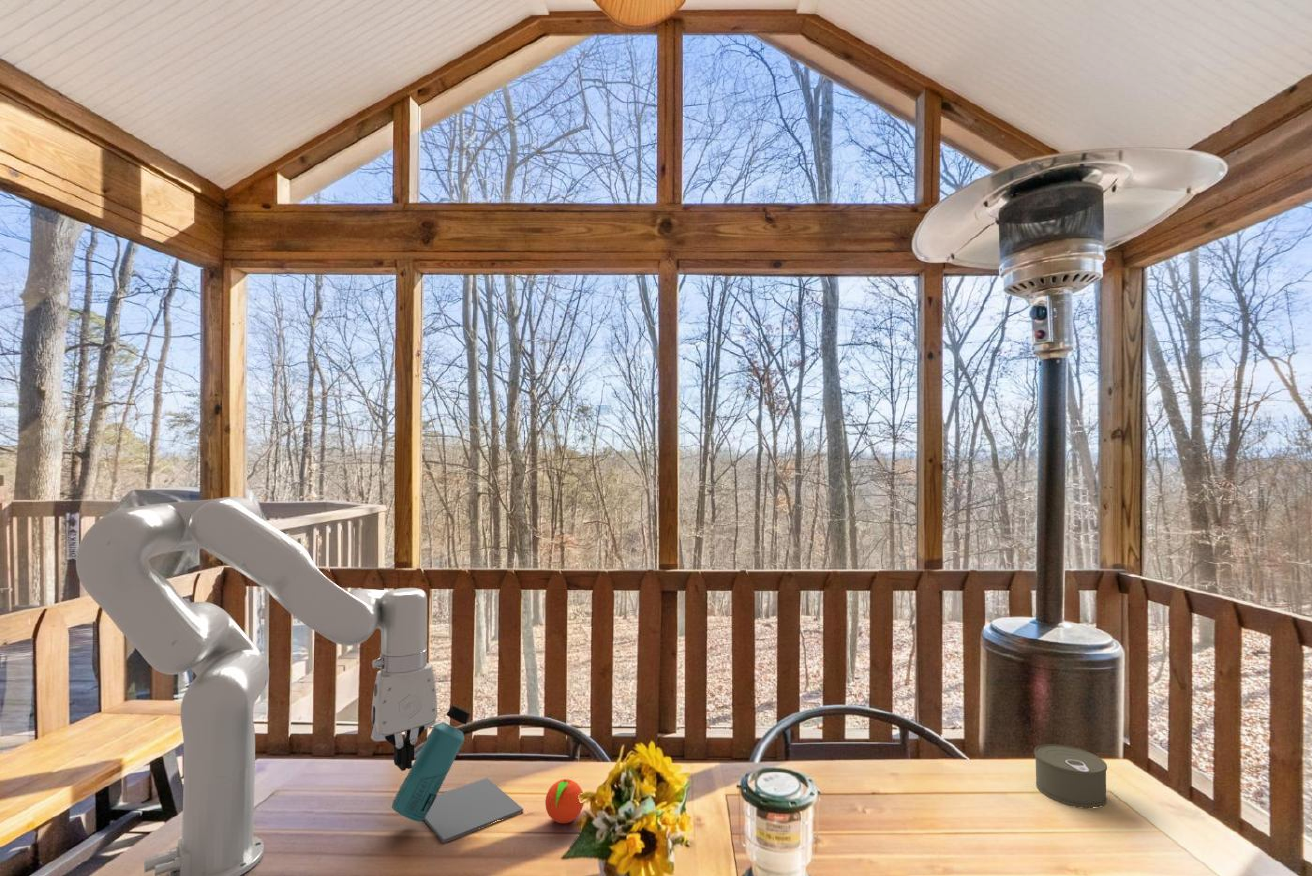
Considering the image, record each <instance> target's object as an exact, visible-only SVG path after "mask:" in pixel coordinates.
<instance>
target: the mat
mask: <svg viewBox="0 0 1312 876" xmlns="http://www.w3.org/2000/svg"><path fill="white" fill-rule="evenodd" d="M437 794H438V795H436V798H435V800H434V803H433V805H432V807H430V808H431V809H429V810H430V811H429V812H427V814H426V816H425V817H426V818H424V819H423V821H424V822H425V823H426V824H427V825H428V826H429V827H430V829H431V831H433V833H434V834H435V835H436V836H437V837H438V838H439V839H440V841H441V842H442V843H443V844H445V843H448V842H451V841H453V840H455V839H459V838H460V837H463V836H467V835H468V834H471V833H474V832H476V831H478V829H479V828H481V829H483V828H482V827H484V828H486V827H485V826H487V825H489V824H491V823H493V822H495V821H497V820H502V819H504V820H506V819H505V818H507V819H509V818H508V817H510V816H512V815H515V816H517V815H519V814H518V813H520V812H522V811H523V812H524V808H523V807H522V806H520V805H519V804H518V803H517V801H515V800H513V798H511V797H510V796H509V795H508V794H506V793H505V792H504V791H503V790H502V789H500V788H499V787H498V786H497V785H496V784H495V783H494V782H492V780H490V779H489V778H488V777H486V778H483V779H479V780H476V781H474V782H471V783H468V784H464V785H462V786H460V787H459V786H458V787H456V788H453V789H450V790H447V791H444V792H442V793H441V792H440V793H437ZM523 812H522V813H523ZM516 814H517V815H516ZM520 814H521V813H520ZM512 817H513V816H512ZM510 818H511V817H510ZM502 821H503V820H502ZM489 826H490V825H489ZM487 827H488V826H487ZM479 830H480V829H479Z"/></svg>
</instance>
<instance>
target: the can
mask: <svg viewBox="0 0 1312 876" xmlns="http://www.w3.org/2000/svg"><path fill="white" fill-rule="evenodd" d="M1034 756H1035V757H1034V758H1035V779H1036V783H1035V786H1036V789H1037V790H1038V791H1039V792H1040V793H1041V794H1042V795H1043V796H1045V797H1046V798H1048V799H1050V800H1052V801H1054V802H1057V803H1059V804H1063V805H1066V806H1069V807H1073V806H1075V807H1074V808H1078V807H1083V808H1082V809H1087V808H1093V807H1100V806H1103V807H1105V805H1106V804H1107V770H1108V765H1107V762H1105V760H1103V759H1102V758H1101V757H1099V756H1098V755H1096V754H1094V753H1092V752H1089V751H1087V750H1084V749H1081V748H1077V747H1074V746H1069V745H1063V744H1055V743H1054V744H1053V743H1051V744H1050V743H1048V744H1041V745H1038V746H1037V747H1035V748H1034ZM1100 808H1101V807H1100Z"/></svg>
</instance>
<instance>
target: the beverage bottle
mask: <svg viewBox="0 0 1312 876" xmlns="http://www.w3.org/2000/svg"><path fill="white" fill-rule="evenodd" d="M445 715H446V716H447V717H448V718H450V719H452V720H454V721H456V722H459V723H461V724H463V725H467V724H468V721H469V718H470V717H471V713H470V712H468V711H467V710H466V709H464V708H462V707H460V706H456V705H451V706H450V708H449V709H448V711H447V712H446V713H445ZM464 742H465V736H464V732H463V731H461V730H460V729H458V728H457V727H454V726H452V725H450V724H448V723H446V722H439V723H437V724H436V723H435V724H434V725H433V727H432V729H431V731H430V733H429V735H428V737H427V739H426V740H425V743H424V744H423V745H422V748H421V750H420V752H419V753H418V755H417V757H416V758H415V759H414V761H413V763H412V768H411V769H409V772H407V775H406V777H405V778H404V779H403V782H402V783H401V785H400V787H399V788H398V791H397V792H396V795H395V797H394V799H392V804H391V809H392V810H394V811H395V812H396V813H397V814H399V815H400V816H402V817H405V818H407V819H409V820H411V821H415V822H418V823H419V822H423V821H424V820H423V819H424V818H426V817H425V816H426V814H427V812H429V811H430V810H429V809H431V808H430V807H432V805H433V803H434V800H435V798H436V795H438V794H439V791H440V790H441V788H442V786H443V784H444V782H445V780H446V777H447V775H448V773H449V771H450V770H451V768H452V766H453V764H454V763H455V759H456V757H457V755H458V753H459V751H460V749H461V747H462V745H463V744H464Z"/></svg>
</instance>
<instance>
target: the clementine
mask: <svg viewBox="0 0 1312 876" xmlns="http://www.w3.org/2000/svg"><path fill="white" fill-rule="evenodd" d="M580 793H583V789H582V787H580V785H579V784H578V783H577V782H576V781H574V780H573V779H568V778H566V779H565V778H563V779H560V780H557V781H556V782H554V783H553V784H552V785H551V786H550V788H549V789H548V791H547V793H546V796H545V802H544V803H545V810H546V812H547V814H548V816H549V817H550V818H551V819H552V820H553V821H555V822H556V823H558V824H569V823H571V822H573V821H574V820H575V819H577V818H578V816H579V815H580V814H581V812H582V810H583V807H584V803H585V802H584V803H580V802H579V799H578V795H579V794H580ZM583 794H584V793H583Z"/></svg>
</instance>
